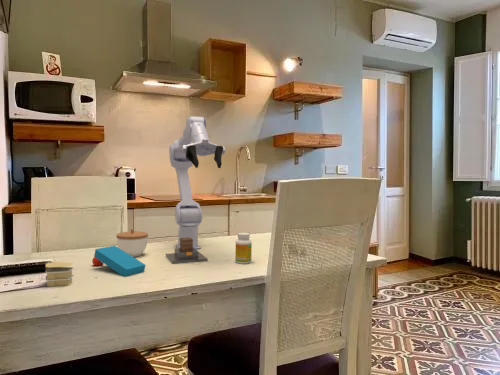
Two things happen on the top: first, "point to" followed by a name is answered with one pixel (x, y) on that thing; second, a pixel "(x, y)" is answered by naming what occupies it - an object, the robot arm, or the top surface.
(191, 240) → the column
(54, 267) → the stacked layers on plate
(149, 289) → the top surface
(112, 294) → the top surface
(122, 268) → the lever
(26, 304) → the top surface
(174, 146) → the robot arm
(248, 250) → the supplement bottle
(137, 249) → the lidded jar
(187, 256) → the socket
